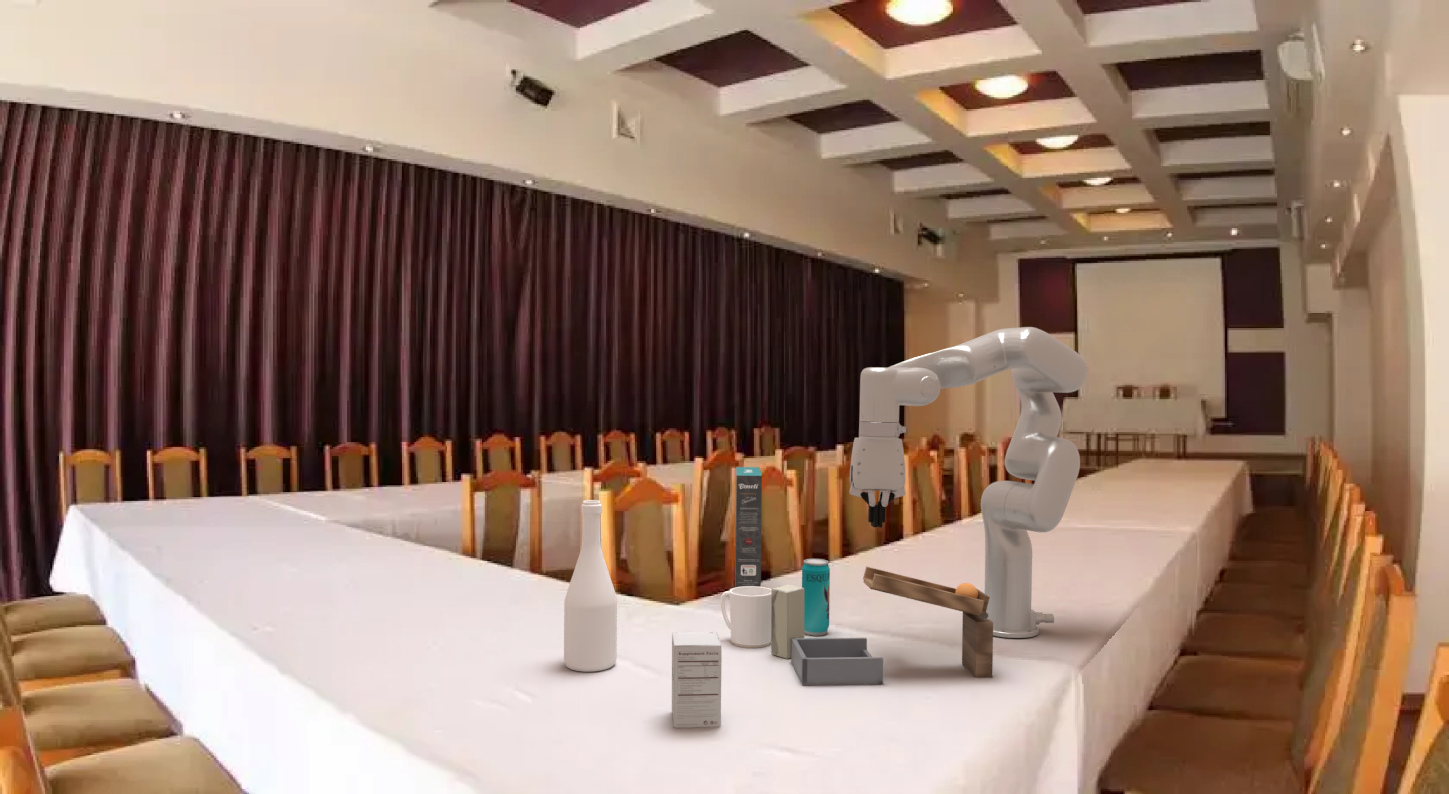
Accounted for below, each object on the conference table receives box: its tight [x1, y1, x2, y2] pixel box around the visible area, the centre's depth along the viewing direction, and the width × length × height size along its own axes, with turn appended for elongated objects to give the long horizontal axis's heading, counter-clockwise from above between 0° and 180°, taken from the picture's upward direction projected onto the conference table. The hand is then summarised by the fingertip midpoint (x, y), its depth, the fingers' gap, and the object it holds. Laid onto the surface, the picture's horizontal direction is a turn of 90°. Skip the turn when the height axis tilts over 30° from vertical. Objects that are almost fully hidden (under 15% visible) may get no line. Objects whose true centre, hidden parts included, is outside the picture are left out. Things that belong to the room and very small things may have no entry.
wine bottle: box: [563, 499, 618, 673], centre depth 168 cm, size 10×10×30 cm
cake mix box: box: [734, 466, 763, 588], centre depth 229 cm, size 22×6×30 cm, turn 179°
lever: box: [862, 566, 990, 619], centre depth 171 cm, size 22×16×4 cm
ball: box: [955, 582, 978, 599], centre depth 167 cm, size 4×4×4 cm
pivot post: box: [961, 612, 994, 679], centre depth 168 cm, size 3×8×12 cm, turn 4°
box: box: [770, 584, 805, 660], centre depth 176 cm, size 5×4×13 cm
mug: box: [720, 586, 772, 649], centre depth 185 cm, size 11×9×10 cm
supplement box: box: [671, 631, 723, 729], centre depth 142 cm, size 7×7×13 cm
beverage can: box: [801, 558, 831, 637], centre depth 192 cm, size 6×6×15 cm
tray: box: [790, 637, 884, 686], centre depth 165 cm, size 14×13×4 cm
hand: (876, 526), depth 178 cm, fingers closed
